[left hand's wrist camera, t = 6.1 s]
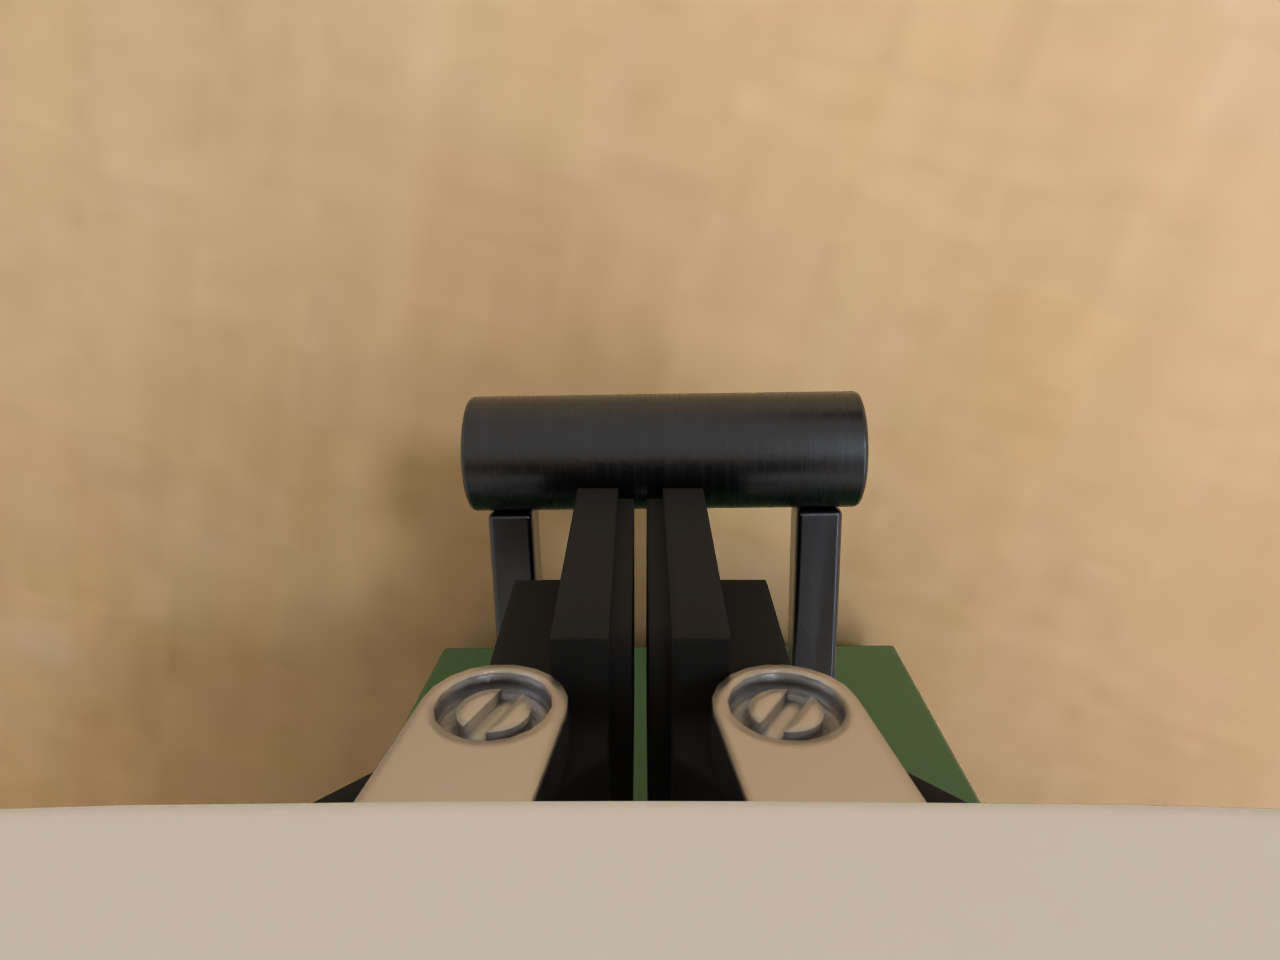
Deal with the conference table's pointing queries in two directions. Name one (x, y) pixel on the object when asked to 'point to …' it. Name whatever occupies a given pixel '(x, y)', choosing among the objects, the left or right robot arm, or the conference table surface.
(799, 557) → the drawer
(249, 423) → the conference table surface
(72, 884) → the left robot arm
